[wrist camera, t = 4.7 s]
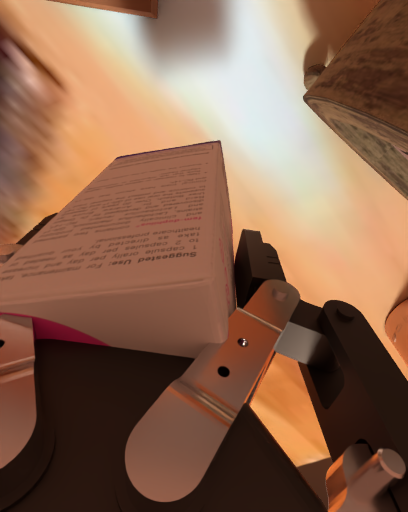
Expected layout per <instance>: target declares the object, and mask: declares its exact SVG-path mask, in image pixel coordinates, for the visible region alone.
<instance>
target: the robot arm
mask: <svg viewBox="0 0 408 512" xmlns="http://www.w3.org/2000/svg"><path fill="white" fill-rule="evenodd" d="M57 214H58V213H55V214H52V215H50V216H48V217H45V218H44V219H43V220H42V221H41V222H40V223H39V225H36V226H35V227H34V228H33V230H31V231H30V232H29V233H27V234H26V235H25V236H24V237H23V238H22V239H21V240H20V241H18V242H17V243H16V244H4V245H0V267H1V266H2V265H4V264H5V263H6V262H7V261H8V260H9V259H10V258H11V257H12V256H13V255H14V254H15V253H17V252H18V251H19V250H20V249H21V248H22V247H23V246H24V245H25V244H26V243H27V242H28V241H29V240H30V239H31V238H32V237H34V236H35V235H36V234H37V233H38V232H39V231H40V230H41V229H42V228H43V227H44V226H45V225H46V224H47V223H48V222H49V221H50V220H52V219H53V218H54V217H55V216H56V215H57ZM278 258H279V257H278V254H277V251H276V250H275V249H274V248H273V247H272V246H271V245H270V244H268V243H263V241H262V237H261V234H260V231H253V230H246V229H243V231H242V233H241V237H240V241H239V245H238V249H237V253H236V257H235V263H234V277H235V289H236V300H237V309H236V310H235V311H234V312H233V313H232V315H231V316H230V317H229V318H228V330H229V336H228V339H227V340H226V341H225V342H222V343H208V344H207V345H206V347H205V348H204V349H203V350H202V352H201V353H200V354H199V355H198V357H197V358H196V359H195V358H189V357H182V356H175V355H168V354H161V353H154V352H147V351H140V350H132V349H125V348H118V347H111V346H104V345H96V344H88V343H81V342H73V341H66V340H57V339H36V331H35V327H34V323H33V320H32V317H28V316H21V315H13V314H6V313H4V314H3V315H1V316H0V512H408V381H407V379H406V378H405V377H404V375H403V374H402V372H401V371H400V369H399V368H398V366H397V365H396V363H395V362H394V360H393V359H392V357H391V356H390V354H389V353H388V351H387V350H386V348H385V347H384V345H383V344H382V342H381V341H380V339H379V338H378V336H377V335H376V333H375V332H374V330H373V329H372V328H371V326H370V325H369V323H368V322H367V320H366V319H365V317H364V316H363V314H362V313H361V312H360V311H359V310H358V309H356V308H355V307H354V306H352V305H350V304H348V303H346V302H343V301H339V300H330V301H327V302H326V303H325V304H324V306H323V308H321V307H318V306H315V305H312V304H309V303H307V302H305V301H303V300H301V299H300V294H299V292H298V291H297V289H296V288H295V287H293V286H292V285H291V284H289V283H287V282H286V279H285V276H284V273H283V270H282V266H281V265H280V264H281V263H280V260H279V259H278ZM385 332H386V334H387V336H388V337H389V339H390V341H391V342H392V344H393V345H394V347H395V348H396V350H397V351H398V353H399V354H400V356H401V357H402V359H403V360H404V362H405V363H406V365H407V366H408V299H407V300H405V301H404V302H402V303H401V304H400V305H398V306H397V307H396V308H395V309H394V310H393V311H392V312H391V314H390V315H389V317H388V319H387V320H386V324H385ZM276 352H277V353H280V354H282V355H285V356H287V357H289V358H292V359H294V360H297V361H298V364H299V367H300V370H301V373H302V375H303V378H304V381H305V384H306V387H307V390H308V393H309V395H310V398H311V401H312V404H313V407H314V410H315V413H316V415H317V418H318V421H319V424H320V427H321V430H322V433H323V435H324V438H325V441H326V444H327V447H328V450H329V453H330V455H331V458H332V461H333V465H332V466H331V467H330V468H329V470H328V471H327V475H326V489H327V494H328V501H329V506H328V511H327V509H326V507H325V505H324V504H323V502H322V501H321V499H320V498H319V497H318V495H317V494H316V493H315V491H314V490H313V489H312V487H311V486H310V485H309V483H308V482H307V481H306V479H305V478H304V477H303V476H302V474H301V473H300V472H299V470H298V469H297V468H296V466H295V465H294V464H293V462H292V461H291V460H290V458H289V457H288V456H287V454H286V453H285V452H284V450H283V449H282V448H281V447H280V445H279V444H278V443H277V441H276V440H275V439H274V437H273V436H272V435H271V433H270V432H269V431H268V429H267V428H266V427H265V426H264V424H263V423H262V422H261V420H260V419H259V418H258V416H257V415H256V414H255V412H254V411H253V410H252V408H251V407H250V405H251V403H252V401H253V399H254V396H255V394H256V392H257V390H258V388H259V386H260V384H261V382H262V380H263V378H264V376H265V374H266V372H267V370H268V368H269V366H270V364H271V362H272V360H273V358H274V356H275V354H276Z"/></svg>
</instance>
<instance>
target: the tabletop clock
mask: <svg viewBox="0 0 408 512" xmlns="http://www.w3.org/2000/svg"><path fill="white" fill-rule="evenodd" d="M304 85H305V87H306V89H307V90H308V91H307V92H306V93H305V95H304V96H303V99H304V102H305V103H306V104H307V105H308V106H309V107H310V108H311V109H312V110H313V111H314V112H315V113H316V114H317V115H318V116H319V117H320V118H321V119H322V120H323V121H324V122H325V123H326V124H327V125H328V126H329V127H330V128H331V129H332V130H333V131H334V132H335V133H336V134H337V135H338V136H339V137H340V138H341V139H342V140H343V141H345V142H346V143H347V144H348V145H349V146H350V147H351V148H352V149H353V150H354V151H355V152H356V153H357V154H358V155H359V156H360V157H361V158H362V159H363V160H364V161H366V162H367V163H368V164H369V165H370V166H371V167H372V168H373V169H374V170H375V171H376V172H377V173H379V174H380V175H381V176H382V177H383V178H384V179H385V180H386V181H387V182H388V183H389V184H390V185H391V186H393V187H394V188H395V189H396V190H397V191H398V192H399V193H400V194H401V195H403V196H404V197H405V198H406V199H407V200H408V0H380V1H379V2H378V4H377V5H376V6H375V7H374V9H373V10H372V11H371V12H370V14H369V15H368V16H367V17H366V19H365V20H364V21H363V22H362V24H361V25H360V26H359V27H358V29H357V30H356V31H355V32H354V34H353V35H352V36H351V37H350V39H349V40H348V41H347V42H346V44H345V45H344V46H343V47H342V49H341V50H340V51H339V52H338V54H337V55H336V56H335V57H334V59H333V60H332V61H331V62H330V64H329V65H328V66H327V67H325V66H323V65H320V64H318V65H315V66H312V67H310V68H309V69H308V71H307V72H306V74H305V75H304Z"/></svg>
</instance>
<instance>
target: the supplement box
mask: <svg viewBox="0 0 408 512" xmlns="http://www.w3.org/2000/svg"><path fill="white" fill-rule="evenodd" d="M232 233H233V232H232V219H231V210H230V202H229V193H228V186H227V179H226V172H225V165H224V159H223V153H222V147H221V141H220V140H218V141H210V142H205V143H199V144H193V145H188V146H182V147H175V148H169V149H163V150H157V151H150V152H144V153H138V154H132V155H126V156H120V157H117V158H116V159H115V160H114V161H113V162H112V163H111V164H110V165H109V166H108V167H106V168H105V169H104V170H103V172H101V173H100V174H99V175H98V176H97V177H96V178H95V179H94V180H93V181H92V182H91V183H90V184H89V185H88V186H87V187H86V188H85V189H84V190H82V191H81V192H80V193H79V194H78V195H77V196H76V197H75V198H74V199H73V200H72V201H71V202H70V203H69V204H67V205H66V206H65V207H64V208H63V209H62V210H61V211H60V212H59V213H58V214H57V215H56V216H55V217H54V218H53V219H52V220H50V221H49V222H48V223H47V224H46V225H45V226H44V227H43V228H42V229H41V230H40V231H39V232H38V233H37V234H36V235H35V236H34V237H32V238H31V239H30V240H29V241H28V242H27V243H26V244H25V245H24V246H23V247H22V248H21V249H20V250H19V251H18V252H17V253H15V254H14V255H13V256H12V257H11V258H10V259H9V260H8V261H7V262H6V263H5V264H4V265H2V266H1V267H0V316H1V315H3V314H4V313H6V314H13V315H21V316H28V317H32V320H33V323H34V327H35V331H36V339H57V340H66V341H73V342H81V343H88V344H96V345H104V346H111V347H118V348H125V349H132V350H140V351H147V352H154V353H161V354H168V355H175V356H182V357H189V358H195V359H196V358H197V357H198V355H199V354H200V353H201V352H202V350H203V349H204V348H205V347H206V345H207V344H208V343H222V342H225V341H226V340H227V339H228V336H229V330H228V318H229V317H230V316H231V315H232V313H233V312H234V311H235V310H236V309H237V307H236V292H235V277H234V253H233V237H232Z"/></svg>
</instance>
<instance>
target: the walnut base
mask: <svg viewBox="0 0 408 512" xmlns="http://www.w3.org/2000/svg"><path fill="white" fill-rule="evenodd" d="M48 1H54V2H60V3H66V4H72V5H78V6H84V7H91V8H97V9H103V10H109V11H115V12H121V13H127V14H133V15H139V16H145V17H151V18H157V13H158V0H48Z"/></svg>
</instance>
